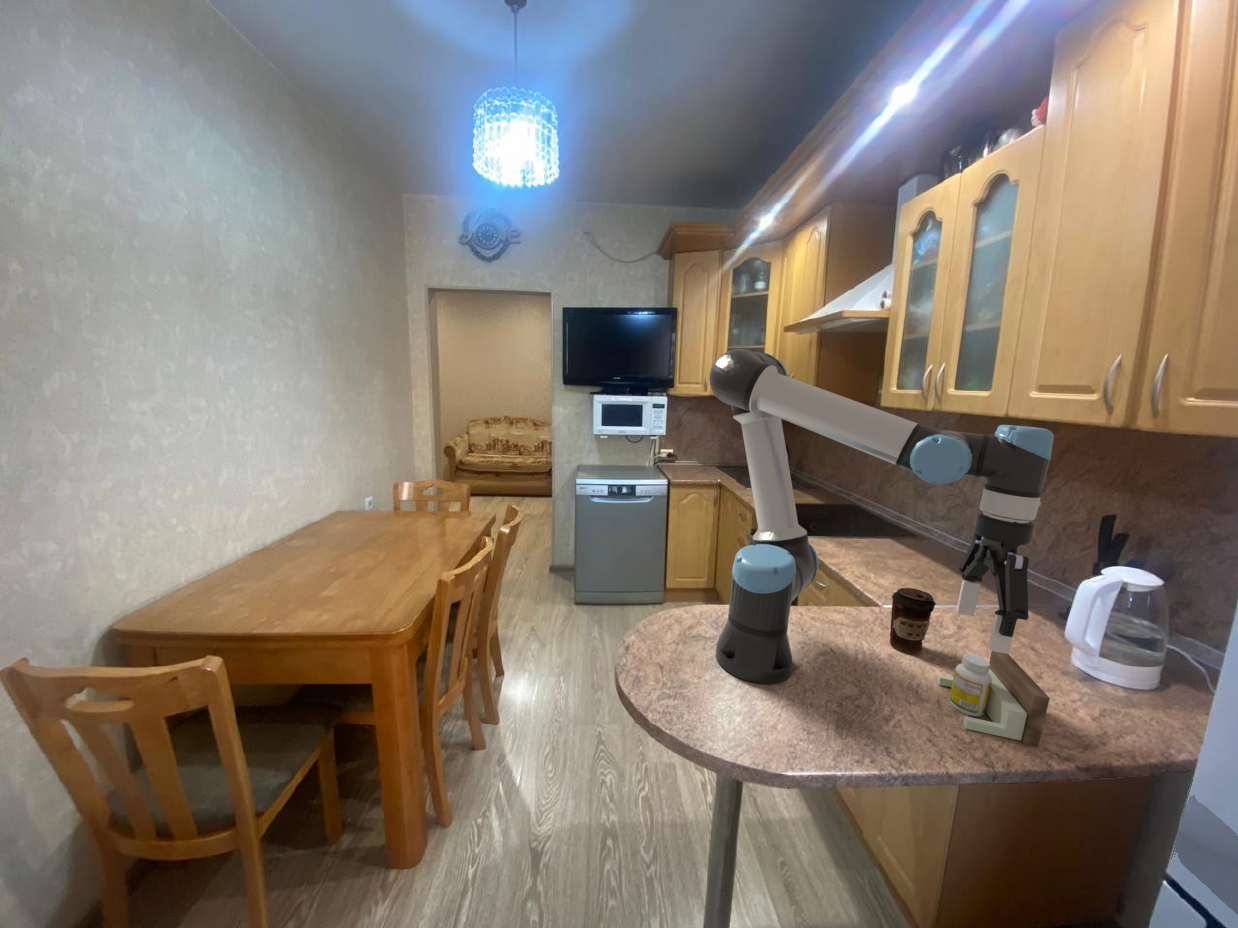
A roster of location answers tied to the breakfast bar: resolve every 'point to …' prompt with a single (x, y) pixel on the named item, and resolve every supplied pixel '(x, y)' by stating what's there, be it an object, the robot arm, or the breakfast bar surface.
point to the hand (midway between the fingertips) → (980, 631)
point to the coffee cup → (910, 619)
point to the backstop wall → (1022, 694)
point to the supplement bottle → (971, 685)
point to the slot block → (996, 711)
